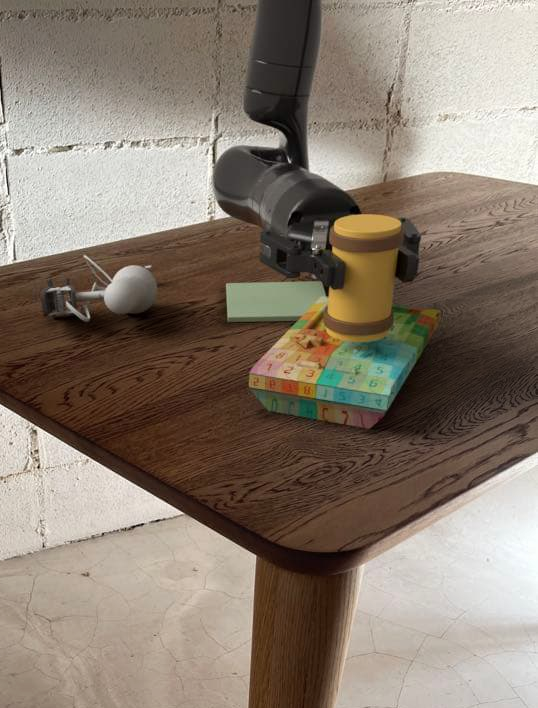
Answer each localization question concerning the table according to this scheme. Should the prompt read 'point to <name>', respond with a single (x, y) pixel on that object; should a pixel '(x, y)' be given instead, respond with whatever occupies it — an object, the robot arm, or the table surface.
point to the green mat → (271, 300)
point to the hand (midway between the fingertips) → (375, 273)
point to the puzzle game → (340, 368)
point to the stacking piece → (364, 277)
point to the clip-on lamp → (105, 293)
